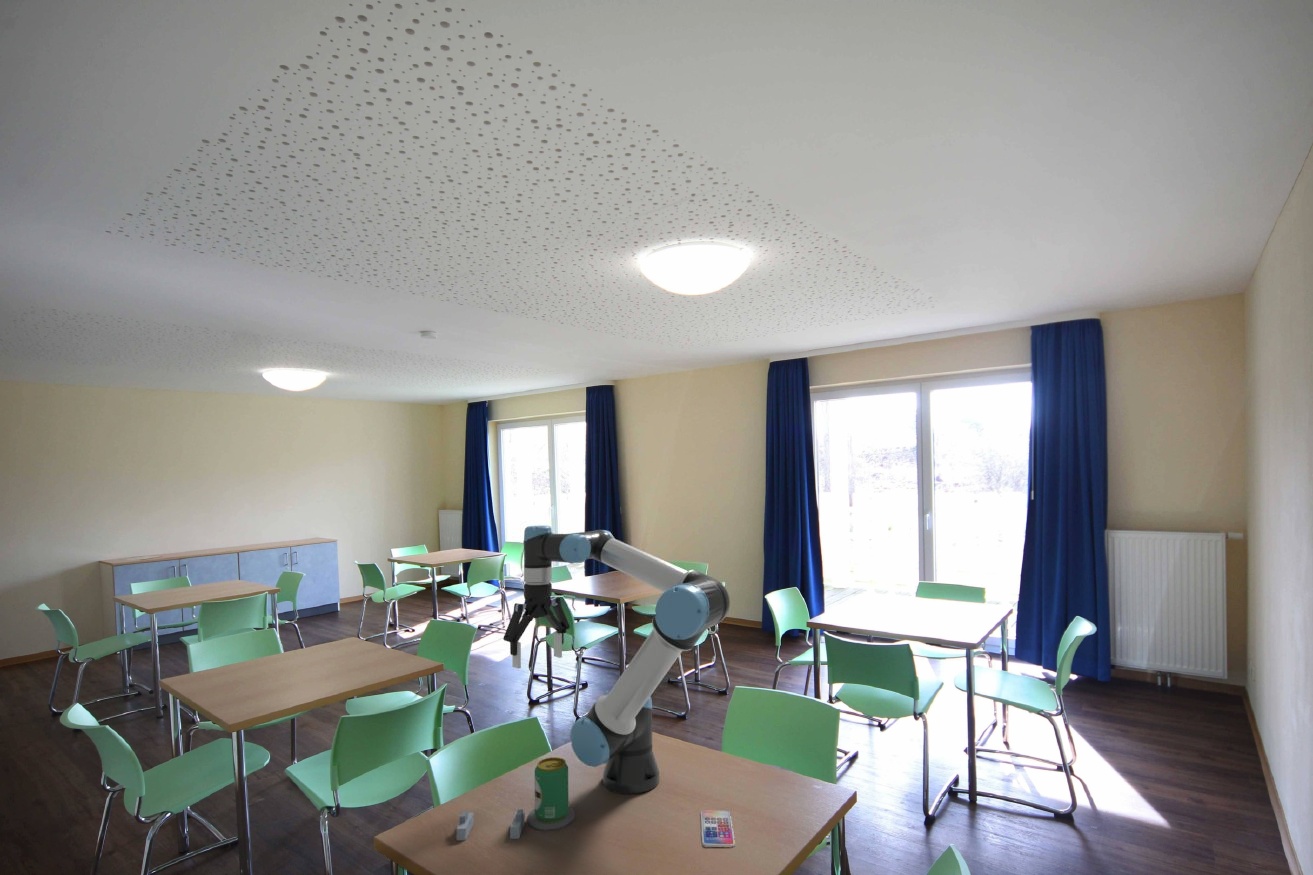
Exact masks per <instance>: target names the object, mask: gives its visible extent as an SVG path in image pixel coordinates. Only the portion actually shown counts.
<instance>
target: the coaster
mask: <svg viewBox="0 0 1313 875" xmlns="http://www.w3.org/2000/svg"><path fill="white" fill-rule="evenodd" d="M574 818H575V811H574V810H573V808H572V807H570V806H568V812H567V814H566V817H565V818H564V819H562V820H560V821H558V822H554V823H543V822H540V821H539V820H538V819H537V817H536V815H535V808H534V809H532V810H531V811H530V812H529V813H528V815H527V824H528V825H529V827H531V828H533V829H535V830H538V831H546V832H548V831H554V830H559V829H562V828H565V827H567V826H569V825H570V824H572V822H573V821H574Z"/></svg>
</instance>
